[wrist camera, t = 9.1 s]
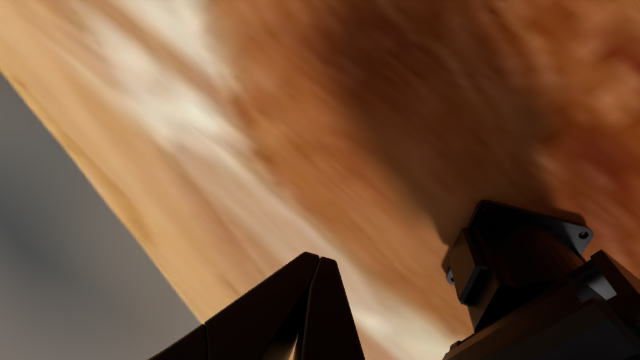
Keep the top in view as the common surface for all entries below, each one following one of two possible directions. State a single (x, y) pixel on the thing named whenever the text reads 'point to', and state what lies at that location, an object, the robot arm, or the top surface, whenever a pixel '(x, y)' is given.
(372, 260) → the top surface
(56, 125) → the top surface
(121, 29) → the top surface
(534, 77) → the top surface
